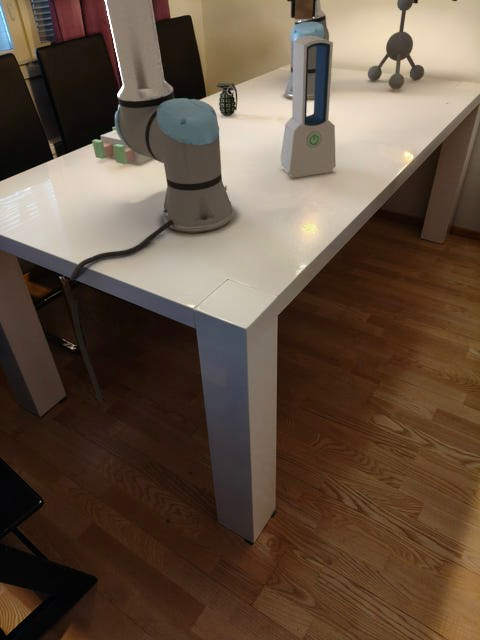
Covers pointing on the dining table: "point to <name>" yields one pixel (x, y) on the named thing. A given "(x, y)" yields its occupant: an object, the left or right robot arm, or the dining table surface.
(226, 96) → the grenade
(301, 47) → the electronic device
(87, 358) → the left robot arm
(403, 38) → the molecular model
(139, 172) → the dining table surface
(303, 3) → the block
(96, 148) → the decorative block
